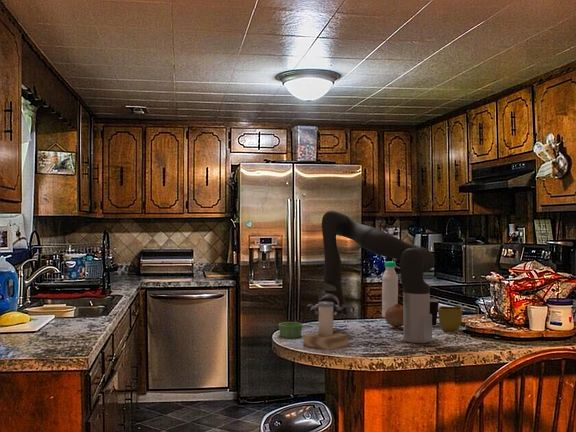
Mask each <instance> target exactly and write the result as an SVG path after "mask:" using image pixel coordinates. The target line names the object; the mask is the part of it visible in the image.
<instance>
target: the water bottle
mask: <svg viewBox="0 0 576 432" xmlns="http://www.w3.org/2000/svg"><path fill="white" fill-rule="evenodd" d="M384 268H385V271H384V272H383V274H382V276H381V280H382V283H381V284H382V286H381V298H382V301H381V308H382V310H381V317H382V318H384V319H386V318H385V313H386V311H387V309H388V308H390V307H392V306H394V304H396V303H398V300H399V299H398V297H399V283H398V280H399V277H398V274H397V272H396V270H395V268H396V262H395V261H385V262H384ZM398 304H399V303H398Z"/></svg>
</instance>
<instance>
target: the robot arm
mask: <svg viewBox="0 0 576 432" xmlns="http://www.w3.org/2000/svg"><path fill="white" fill-rule="evenodd" d="M321 231H322V240H323V241H322V244H323V254H324V269H323V282H324V284H326V285H329V286H332V287H334V288H335V290H327V289H326V290H321V291H320V292H319V294H318V297H317V300H318V301H317V302H333V303H334V306H333V317H334V316H336V315H337V316H338V317H339V316H340V315H344V316H345V315H347V314H348V305H347V304H346V301H345V300H346V299H345V295H344V291H343V285H342V270H343V266H342V260H341V255H340V253H339V250H338V245H337V236H339V237H340V236H341V237H344V238H347V239H350V240H352V241H354V242H355V243H356V244H357V245H358V246H360V247H362V248H363V249H364V250H366V251H368V252H370V253H372V254H374V255H377V256H381V257H384V258H390V259H394V260H398V261H399V262H400V265H399V266H400V283H401V285H402V287H403V291H402V292H403V295H402V296H403V299H402V300H403V301H402V302H403V303H402V304H403V305H402V306H403V326H402V327H403V330H402V331H403V332H402V335H403V336H402V337H403V341H405V342H407V343H416V344H426V343H431V342H432V341H433V326H432V314H430V299H431V295H430V294H431V287H430V285H429V284H428V283H427V282H425V280H424V273H427V272H429V271H431V270H432V269H434V266H435V264H436V260H435V256H434V255H433V253H432V251H430V250H429V249H428V248H425V247H423V246H419V245H415V244H413V243H409V242H406V241H404V240H402V239H400V238H398V237H396V236H394V235H392V234H390V233H387V232H385V231H383V230H381V229H379V228H376V227H374V226H370V225H367V224H362V223H360V222H358V221H356V220H354V219H353V218H351V217H349V216H348V215H346V213H345V214H344V213H342V212H338V211H335V210H333V209H332V210H331V209H330V210H327V211H326V212H325V213H324V214H323V216H322V218H321ZM305 313H306V314H310V315H312V316H315V315H319V306H318V303H316V304H315V305H313V303H308V304H307V305H306V312H305Z"/></svg>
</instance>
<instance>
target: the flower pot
mask: <svg viewBox="0 0 576 432" xmlns="http://www.w3.org/2000/svg"><path fill="white" fill-rule="evenodd" d="M437 317H438V323H439V325H440V327H441V330H442V331H443V332H451V333H453V332H454V333H456V332H458V331H459V329H460V326H461V325H462V319H463V306H449V305H448V306H447V305H446V306H445V305H440V306H438V314H437Z"/></svg>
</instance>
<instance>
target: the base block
mask: <svg viewBox="0 0 576 432" xmlns="http://www.w3.org/2000/svg"><path fill="white" fill-rule="evenodd" d="M302 344H303V346H306V347H312V348H316V349H322V350H327V351H330V350H333V349H338V348H342V347H345V346H349V334H346V333H341V332H335V331H333V335H332V336H320V335H318V331H315V332H310V333H306V334H303V338H302Z"/></svg>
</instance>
